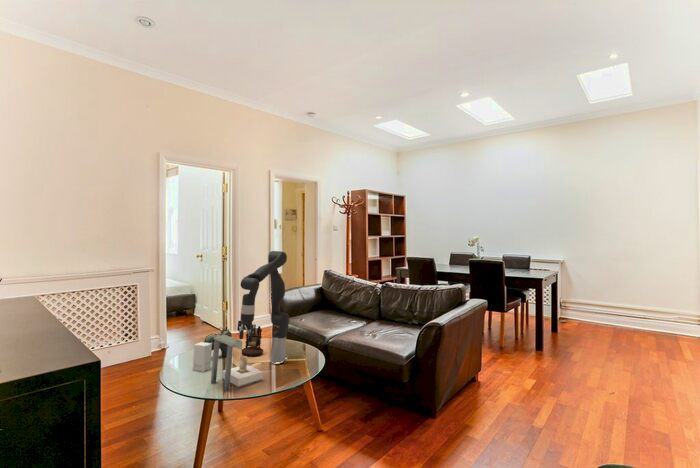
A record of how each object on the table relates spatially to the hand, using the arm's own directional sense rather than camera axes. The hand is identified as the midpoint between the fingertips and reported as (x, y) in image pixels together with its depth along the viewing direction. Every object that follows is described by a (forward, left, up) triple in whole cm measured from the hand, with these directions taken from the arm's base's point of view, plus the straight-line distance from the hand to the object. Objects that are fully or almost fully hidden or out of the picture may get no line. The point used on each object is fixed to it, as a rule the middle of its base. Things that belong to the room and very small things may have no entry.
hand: (245, 340), depth 198 cm
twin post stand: (+12, 0, -23) cm, 25 cm away
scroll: (-32, -35, -23) cm, 53 cm away
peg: (0, 0, -22) cm, 22 cm away
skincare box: (+9, -29, -23) cm, 38 cm away
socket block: (0, 0, -23) cm, 23 cm away
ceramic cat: (-8, -42, -23) cm, 48 cm away
